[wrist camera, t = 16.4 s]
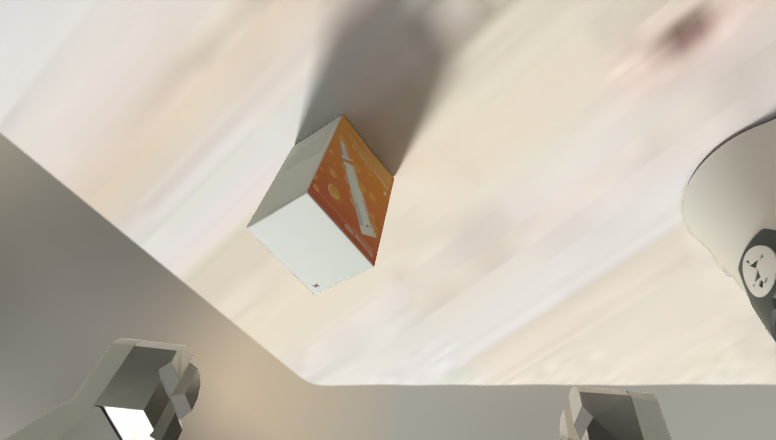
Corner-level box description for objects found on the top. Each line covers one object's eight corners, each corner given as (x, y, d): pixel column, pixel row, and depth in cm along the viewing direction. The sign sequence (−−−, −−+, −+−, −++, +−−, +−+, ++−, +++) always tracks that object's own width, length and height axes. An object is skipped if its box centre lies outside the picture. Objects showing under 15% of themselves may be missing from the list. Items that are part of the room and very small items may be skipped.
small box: (395, 177, 48) (376, 269, 38) (345, 205, 51) (314, 297, 40) (343, 110, 45) (306, 191, 34) (291, 144, 47) (243, 229, 37)
